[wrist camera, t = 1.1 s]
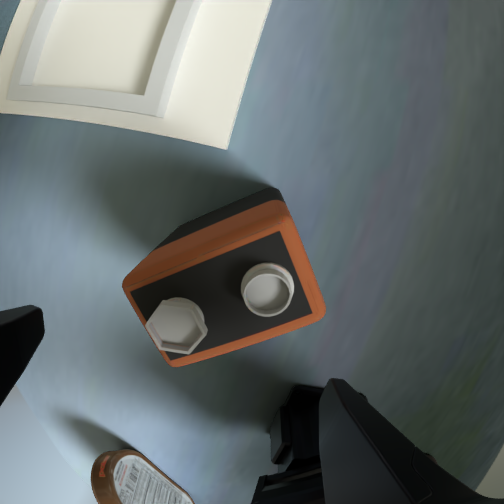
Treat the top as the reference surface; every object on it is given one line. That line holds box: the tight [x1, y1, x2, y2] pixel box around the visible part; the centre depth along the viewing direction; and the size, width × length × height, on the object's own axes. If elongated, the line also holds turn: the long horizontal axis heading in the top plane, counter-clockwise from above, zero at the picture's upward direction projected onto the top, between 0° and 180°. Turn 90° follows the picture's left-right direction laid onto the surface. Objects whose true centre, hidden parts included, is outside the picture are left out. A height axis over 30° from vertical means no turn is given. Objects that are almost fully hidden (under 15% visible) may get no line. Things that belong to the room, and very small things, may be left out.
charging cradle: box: [0, 0, 272, 150], centre depth 15 cm, size 20×14×2 cm
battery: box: [122, 188, 326, 367], centre depth 15 cm, size 4×7×10 cm, turn 113°
